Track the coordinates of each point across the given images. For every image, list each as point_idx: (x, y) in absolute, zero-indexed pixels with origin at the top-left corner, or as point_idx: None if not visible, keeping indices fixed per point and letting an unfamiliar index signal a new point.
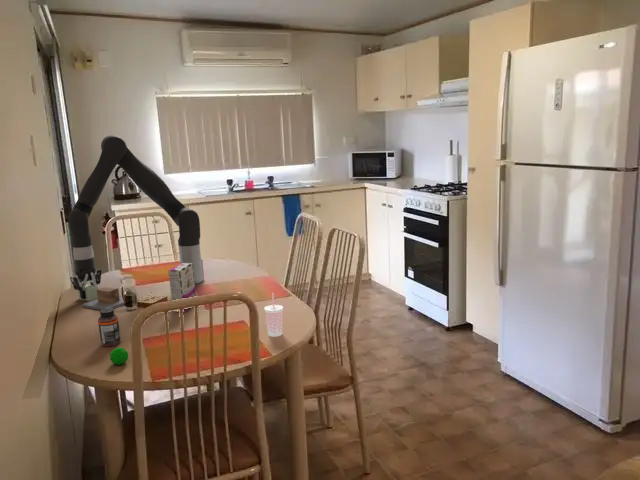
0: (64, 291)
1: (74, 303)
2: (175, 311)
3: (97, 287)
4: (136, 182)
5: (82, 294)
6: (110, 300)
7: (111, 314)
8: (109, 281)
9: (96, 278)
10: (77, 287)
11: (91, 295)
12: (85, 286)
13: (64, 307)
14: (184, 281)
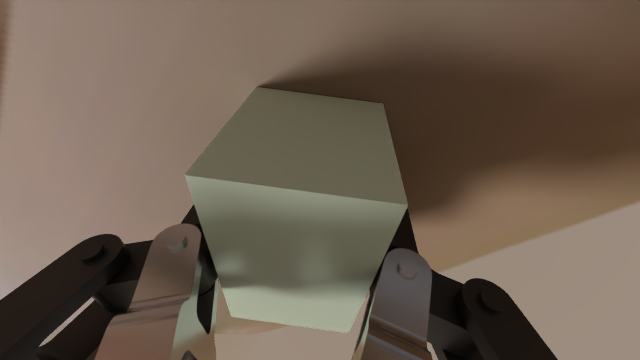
0: (270, 330)
1: (470, 191)
2: None
3: (208, 164)
4: None
5: (406, 218)
6: None
7: None
8: (36, 272)
9: (67, 346)
10: (546, 347)
11: (356, 129)
12: (290, 300)
13: (602, 193)
14: None
